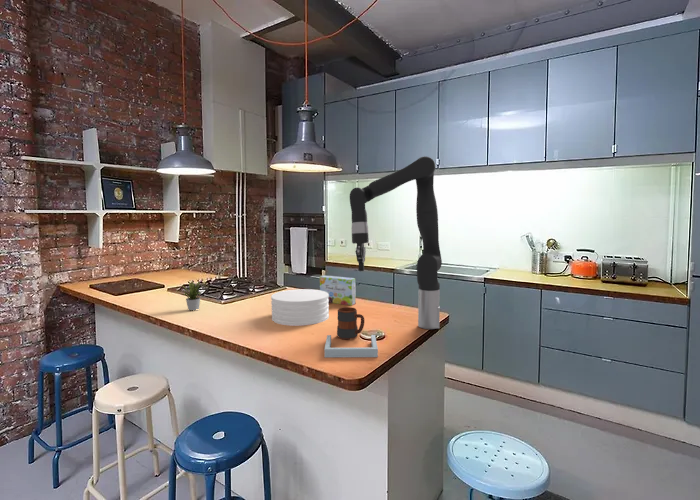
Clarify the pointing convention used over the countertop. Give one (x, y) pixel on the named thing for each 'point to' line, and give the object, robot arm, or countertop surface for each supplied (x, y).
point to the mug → (348, 323)
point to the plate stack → (300, 307)
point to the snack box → (339, 289)
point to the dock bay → (351, 350)
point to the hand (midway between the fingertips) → (361, 271)
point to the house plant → (193, 296)
